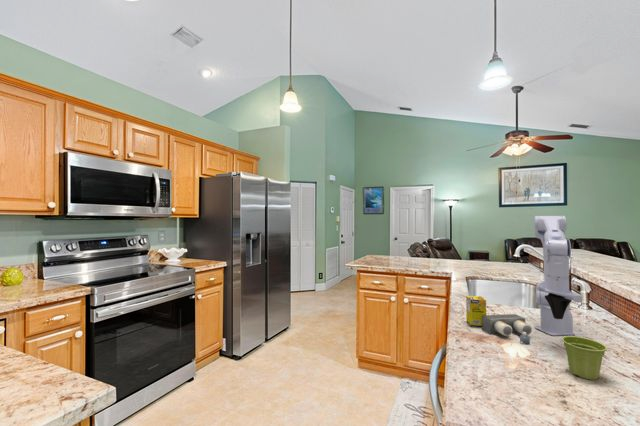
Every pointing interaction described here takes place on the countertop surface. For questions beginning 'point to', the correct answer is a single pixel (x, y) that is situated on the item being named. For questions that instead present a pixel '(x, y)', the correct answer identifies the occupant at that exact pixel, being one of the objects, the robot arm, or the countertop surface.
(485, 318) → the panel
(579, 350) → the plant pot
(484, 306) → the supplement box
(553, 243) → the robot arm
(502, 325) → the knob
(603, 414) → the countertop surface
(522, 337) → the potentiometer
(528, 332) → the knob
